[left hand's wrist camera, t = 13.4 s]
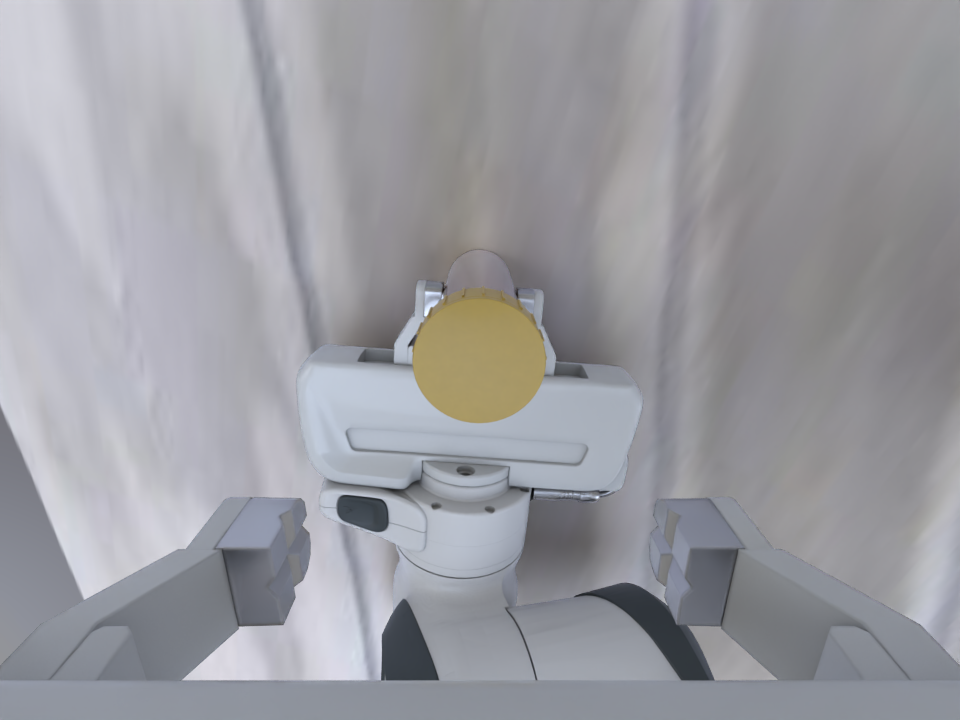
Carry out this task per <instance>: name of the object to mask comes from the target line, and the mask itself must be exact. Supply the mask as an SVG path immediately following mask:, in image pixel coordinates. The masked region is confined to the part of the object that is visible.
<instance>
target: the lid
mask: <svg viewBox="0 0 960 720" xmlns="http://www.w3.org/2000/svg"><path fill="white" fill-rule="evenodd" d="M536 324H537V323H536V320H535V318H534V315H533V313H530V312H529V311H528V310H527V309H526V308H525V306H524V305H522V303H521V300H519V299H518V300H516V299H515V298H513V297H512V296H510V295H508V294H506V293H504V291H503V290H501V291H498V290H494V289H489V288H485V286H482V288H469V289H465V288H462V290H461V291H458V292H455V293H453V294H451V295H448V296H447V295H445V296H444V299H442V300H441V301H439V302H438V303H437V304H436V305H435V306H434V307H430V309H429V312H428V314H427V316H426V318H425V319H424V321H423V323H422V322H421V323H420V325H419V328H418V331H417V333H416V334H418V336H417V339H416V341H415V343H414V346H413V349H412V352H413V359H412V364H413V372H414V376H415V380H416V382H417V384H418V387H419V389H420V390H421V392H422V394H423V395H424V396H425V398H426V399H427V400H428V401H429V402H430V403H431V404H432V405H433V406H434V407H435V408H436V409H438V410H439V411H440V412H442V413H444V414H445V415H447V416H449V417H451V418H454V419H457V420H460V421H463V422H469V423H490V422H495V421H499V420H502V419H505V418H507V417H509V416H512V415H513V414H515V413H517V412H518V411H520V410H521V409H522V408H524V407H525V406H526V405H527V404H528V403H529V402H530V401H531V400H532V398H533V397H534V396H535V395H536V393H537V391H538V389H539V388H540V386H541V383H542V381H543V378H544V374H545V368H546V360H547V357H546V353H545V347H544V344H543V342H544V341H545V340H544V337H543V335H542V332H541V329H539V330H538V327H537V325H536Z"/></svg>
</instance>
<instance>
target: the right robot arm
mask: <svg viewBox="0 0 960 720" xmlns="http://www.w3.org/2000/svg"><path fill="white" fill-rule="evenodd" d="M443 290H444V282H438V281H427V280H418V282H417V286H416V296H415V311H414V312H413V314H412V315H411V317H410V318H409V320H408V322H407V323H406V325H405V326H404V328H403V329H402V331H401V332H400V334H399V336H398V338H397V340H396V342H395V344H394V349H385V348H371V347H358V346H345V345H332V344H326V345H323V346H321V347H319V348H318V349H317V350H316V351H315V352H314V353H313V354H312V355H310V356H309V357H308V358H307V360H306V361H305V362H304V363H303V365H302V366H301V368H300V369H299V372H298V374H297V380H296V387H297V402H298V411H299V419H300V425H301V431H302V436H303V441H304V445H305V450H306V453H307V456H308V458H309V460H310V462H311V464H312V466H313V467H314V468H315V470H316V471H317V472H318V473H319V474H321V475H322V476H323V477H325V479H324V482H323V485H322V489H321V492H320V497H319V508H320V511H321V513H322V514H323V515H324V516H325V517H327V518H328V519H330V520H333V521H336V522H339V523H342V524H345V525H348V526H351V527H354V528H357V529H360V530H362V531H365V532H368V533H371V534H373V535H376V536H378V537H381V538H383V539H385V540H387V541H390V542H392V543H394V544H396V548H397V551H398V554H399V558H400V560H399V563H398V565H397V568H396V570H395V575H394V580H393V613H392V615H391V617H390V619H389V621H388V623H387V625H386V627H385V629H384V632H383V634H382V673H381V681H416V680H680V681H715V680H714V677H713V675H712V673H711V670H710V668H709V665H708V663H707V661H706V658H705V656H704V654H703V652H702V650H701V648H700V646H699V644H698V642H697V640H696V638H695V637H694V635H693V633H692V632H691V630H690V629H689V628H688V626H687V625H676V622H675V620H674V618H673V616H672V613H671V611H670V609H669V607H668V606H667V605H666V604H665V603H663V602H662V601H661V600H659V599H658V598H657V597H655V596H654V595H652V594H651V593H649V592H648V591H646V590H645V589H643V588H641V587H639V586H637V585H634V584H630V583H620V584H616V585H612V586H609V587H605V588H601V589H597V590H593V591H590V592H586V593H582V594H579V595H576V596H575V597H573V598H566V599H560V600H554V601H547V602H541V603H534V604H528V605H522V606H516V601H517V594H518V581H517V575H516V571H515V567H516V564H517V563H518V561H519V559H520V557H521V554H522V551H523V548H524V542H525V535H526V528H527V520H528V513H529V503H530V501H531V499H535V500H550V501H561V500H573V501H578V502H582V503H595V502H598V501H599V498H601V497H606V496H609V495H611V494H613V493H615V492H616V491H619V490H620V489H621V488H622V486H623V484H624V481H625V476H626V471H627V467H628V451H629V449H630V446H631V444H632V441H633V438H634V435H635V432H636V429H637V426H638V423H639V419H640V416H641V412H642V408H643V396H642V393H641V391H640V389H639V387H638V386H637V384H636V383H635V381H634V380H633V379H632V377H631V376H630V375H629V374H628V373H627V372H626V371H625V369H623V368H622V367H620V366H612V365H598V364H585V363H572V362H558V361H556V355H555V352H554V350H553V347H552V345H551V343H550V340H549V338H548V336H547V334H546V331H545V329H544V327H543V325H542V322H541V320H542V312H543V304H544V293H543V291H542V289H530V288H517V289H516V295H517V298H518V299H519V300H521V303H522V305H524V306H525V308H526V309H527V310H528V311H529V312H530V313H533V315H534V318H535V320H536V323H537V324H536V325H537V327H538V330H539V329H541V332H542V335H543V337H544V340H545V341H544V342H543V344H544V347H545V353H546V357H547V360H546V368H545V374H544V378H543V381H542V383H541V386H540V388H539V389H538V391H537V393H536V395H535V396H534V397H533V398H532V400H531V401H530V402H529V403H528V404H527V405H526V406H525V407H524V408H522V409H521V410H520V411H518V412H517V413H515V414H513V415H512V416H509V417H507V418H505V419H502V420H499V421H495V422H490V423H469V422H463V421H460V420H457V419H454V418H451V417H449V416H447V415H445V414H444V413H442V412H440V411H439V410H438V409H436V408H435V407H434V406H433V405H432V404H431V403H430V402H429V401H428V400H427V399H426V398H425V396H424V395H423V394H422V392H421V390H420V389H419V387H418V384H417V382H416V380H415V376H414V372H413V364H412V359H413V352H412V349H413V346H414V343H415V341H416V339H417V336H418V335H415V334H416V332H417V331H418V328H419V325H420V323H421V322H422V323H423V321H424V319H425V318H426V316H427V314H428V312H429V309H430V307H434V306H435V305H436V304H437V303H438V302H439V301H440V300H441V297H442V294H443ZM599 490H603V491H599Z"/></svg>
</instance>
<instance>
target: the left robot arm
mask: <svg viewBox="0 0 960 720" xmlns="http://www.w3.org/2000/svg"><path fill="white" fill-rule="evenodd" d="M306 516H307V514H306V508H305V503H304V501H303V500H302V499H301V498H265V497H254V498H252V497H230V498H228V499H225V500H224V501H223V502H222V504H221V505H220V506H219V507H218V509H217V510H216V511H215V513H214V514H213V515H212V516H211V518H210V519H209V520H208V521H207V523H206V524H205V525H204V527H203V528H202V529H201V530H200V532H199V533H198V534H197V535H196V537H195V538H194V539H193V541H192V542H191V543H190V544H189V546H188V547H187V548H186V549H178V550H176V551H174V552H172V553H170V554H168V555H167V556H165V557H163V558H161V559H159V560H157V561H156V562H154V563H152V564H150V565H148V566H146V567H145V568H143V569H141V570H139V571H137V572H135V573H133V574H132V575H130V576H128V577H126V578H124V579H122V580H121V581H119V582H117V583H115V584H113V585H111V586H110V587H108V588H106V589H104V590H102V591H100V592H99V593H97V594H95V595H93V596H91V597H89V598H87V599H86V600H84V601H82V602H80V603H78V604H76V605H75V606H73V607H71V608H69V609H67V610H65V611H64V612H62V613H60V614H58V615H56V616H54V617H53V618H51V619H49V620H47V621H45V622H43V623H42V624H40V625H39V626H38V627H37V628H36V629H35V630H34V631H33V632H32V633H31V635H30V636H29V637H28V638H27V639H26V640H25V641H24V642H23V643H22V644H21V645H20V646H19V647H18V648H17V649H16V650H15V651H14V652H13V653H12V654H11V655H10V656H9V657H8V658H7V659H6V660H5V661H4V662H3V663H2V664H1V665H0V720H960V665H959V664H958V663H957V662H956V661H955V660H954V659H953V658H952V657H951V656H950V655H949V654H948V653H947V652H946V651H945V650H944V649H943V648H942V647H941V646H940V645H939V644H938V642H937V641H936V640H935V639H934V638H933V637H932V636H931V635H930V634H929V633H928V632H927V631H926V630H925V629H924V628H923V627H922V626H921V625H920V624H918V623H916V622H914V621H913V620H911V619H909V618H907V617H905V616H903V615H902V614H900V613H898V612H896V611H894V610H892V609H891V608H889V607H887V606H885V605H883V604H881V603H880V602H878V601H876V600H874V599H872V598H870V597H869V596H867V595H865V594H863V593H861V592H859V591H858V590H856V589H854V588H852V587H850V586H848V585H847V584H845V583H843V582H841V581H839V580H837V579H836V578H834V577H832V576H830V575H828V574H826V573H825V572H823V571H821V570H819V569H817V568H815V567H814V566H812V565H810V564H808V563H806V562H804V561H803V560H801V559H799V558H797V557H795V556H793V555H792V554H790V553H788V552H786V551H784V550H782V549H774V548H773V547H772V546H771V544H770V543H769V542H768V541H767V539H766V538H765V537H764V536H763V534H762V533H761V532H760V530H759V529H758V528H757V527H756V525H755V524H754V523H753V522H752V520H751V519H750V518H749V517H748V515H747V514H746V513H745V511H744V510H743V509H742V508H741V506H740V505H739V504H738V503H737V501H736V500H735V499H733V498H731V497H710V498H687V499H657V501H656V504H655V507H654V514H653V516H654V518H655V520H656V522H657V524H658V526H657V527H656V528H655V529H654V530H653V531H652V532H651V535H650V544H649V549H650V561H651V565H652V569H653V572H654V574H655V577H656V579H657V580H658V581H659V582H660V583H662V584H663V585H664V586H665V587H666V591H665V600H666V602H667V604H668V607H669V609H670V611H671V613H672V616H673V618H674V620H675V622H676V625H691V626H722V627H721V629H722V630H723V631H725V632H726V633H727V634H728V635H729V636H730V637H731V638H732V639H733V640H735V641H736V642H737V643H738V644H739V645H740V646H741V647H742V648H743V649H745V650H746V651H747V652H748V653H749V654H750V655H751V656H752V657H753V658H755V659H756V660H757V661H758V662H759V663H760V664H761V665H762V666H764V667H765V668H766V669H767V670H768V671H769V672H770V673H771V674H772V675H774V676H775V677H776V678H777V679H778V680H752V681H680V680H416V681H181V680H182V679H183V678H184V677H185V676H187V675H188V674H189V673H190V672H191V671H192V670H193V669H194V668H196V667H197V666H198V665H199V664H200V663H201V662H202V661H203V660H204V659H206V658H207V657H208V656H209V655H210V654H211V653H212V652H213V651H215V650H216V649H217V648H218V647H219V646H220V645H221V644H222V643H223V642H225V641H226V640H227V639H228V638H229V637H230V636H231V635H232V634H234V633H235V632H236V631H237V630H238V629H239V627H238V626H268V625H284V623H285V620H286V618H287V616H288V613H289V611H290V609H291V607H292V604H293V602H294V600H295V591H294V587H295V586H296V585H297V584H298V583H300V582H301V581H302V580H303V579H304V576H305V574H306V572H307V569H308V564H309V559H310V548H311V542H310V535H309V532H308V531H307V530H306V529H305V528H304V527H303V526H302V524H303V522H304V520H305V518H306Z"/></svg>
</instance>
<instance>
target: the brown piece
mask: <svg viewBox="0 0 960 720" xmlns="http://www.w3.org/2000/svg"><path fill="white" fill-rule="evenodd" d="M482 286H485V288H489V289H494V290H498V291H501V290H503V291H504V293H506V294H508V295H510V296H512V297H513V298H515V299H516V300H518V298H517V295H516V292H515V288H514V285H513V282H512V278H511V275H510V272H509V269H508V267H507V265H506V263H505V262H504V261H503V260H502V259H501V258H500V257H499V256H498V255H496V254H495V253H493V252H490V251H487V250H480V249H479V250H471V251H468V252H466V253H464V254H462V255H461V256H459V257H458V258H457V259H456V260H455V261H454V263H453V264H452V266H451V268H450V270H449V274H448V277H447V280H446V284H445V287H444V290H443V294H442V297H441V300H442V299H444V296H445V295H447V296H448V295H451V294H453V293H455V292H458V291H461V290H462V288H465V289H469V288H482ZM441 300H440V301H441Z"/></svg>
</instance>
